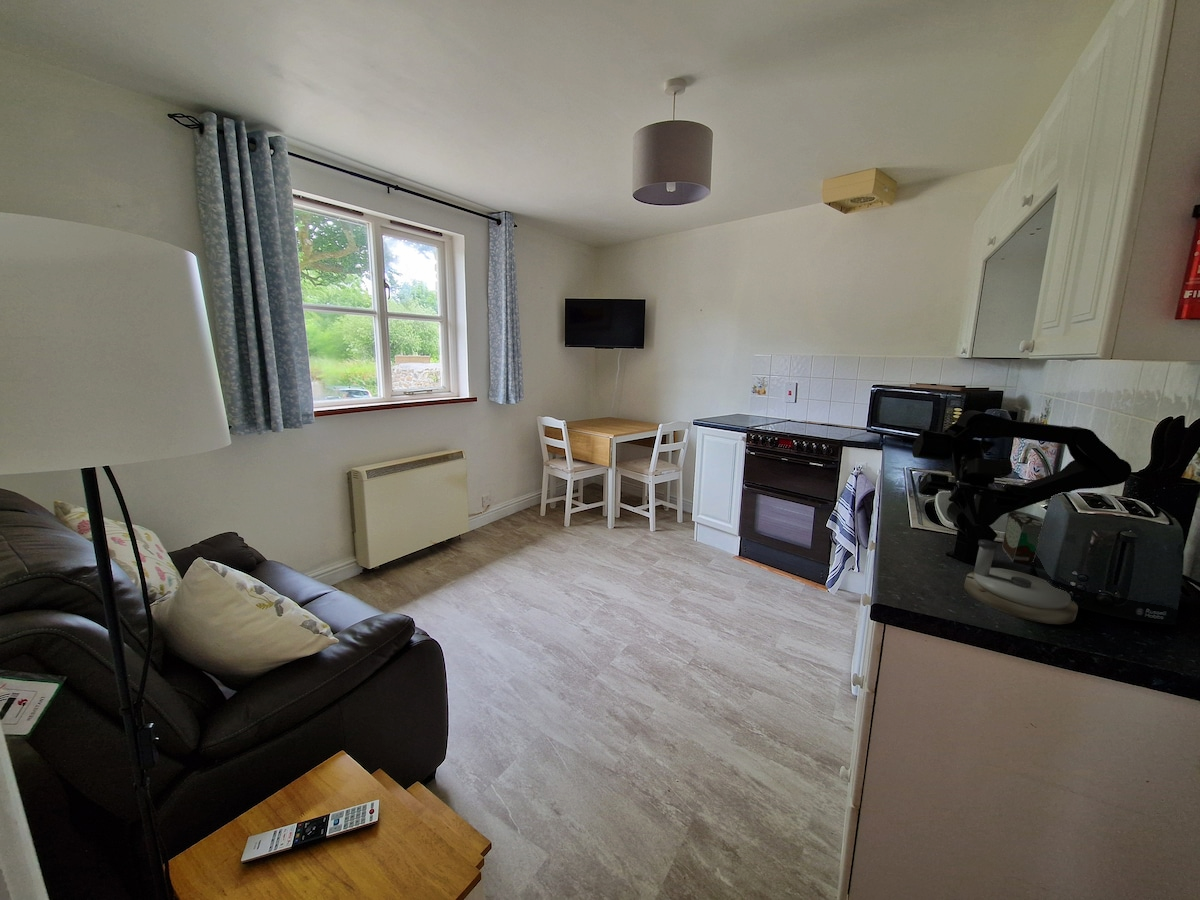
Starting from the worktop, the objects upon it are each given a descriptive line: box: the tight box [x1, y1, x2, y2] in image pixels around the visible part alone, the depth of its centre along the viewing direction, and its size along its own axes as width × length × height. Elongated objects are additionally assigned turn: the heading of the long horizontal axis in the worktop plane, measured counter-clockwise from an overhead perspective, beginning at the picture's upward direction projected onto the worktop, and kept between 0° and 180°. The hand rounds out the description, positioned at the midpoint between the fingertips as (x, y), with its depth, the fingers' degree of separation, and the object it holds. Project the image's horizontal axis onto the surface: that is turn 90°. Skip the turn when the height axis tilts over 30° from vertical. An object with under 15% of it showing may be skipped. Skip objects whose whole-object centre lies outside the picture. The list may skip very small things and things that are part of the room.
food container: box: [1001, 510, 1044, 564], centre depth 108 cm, size 12×6×10 cm, turn 151°
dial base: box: [963, 571, 1079, 625], centre depth 89 cm, size 16×16×2 cm
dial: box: [973, 539, 1072, 609], centre depth 88 cm, size 14×14×8 cm
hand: (976, 524), depth 95 cm, fingers closed
